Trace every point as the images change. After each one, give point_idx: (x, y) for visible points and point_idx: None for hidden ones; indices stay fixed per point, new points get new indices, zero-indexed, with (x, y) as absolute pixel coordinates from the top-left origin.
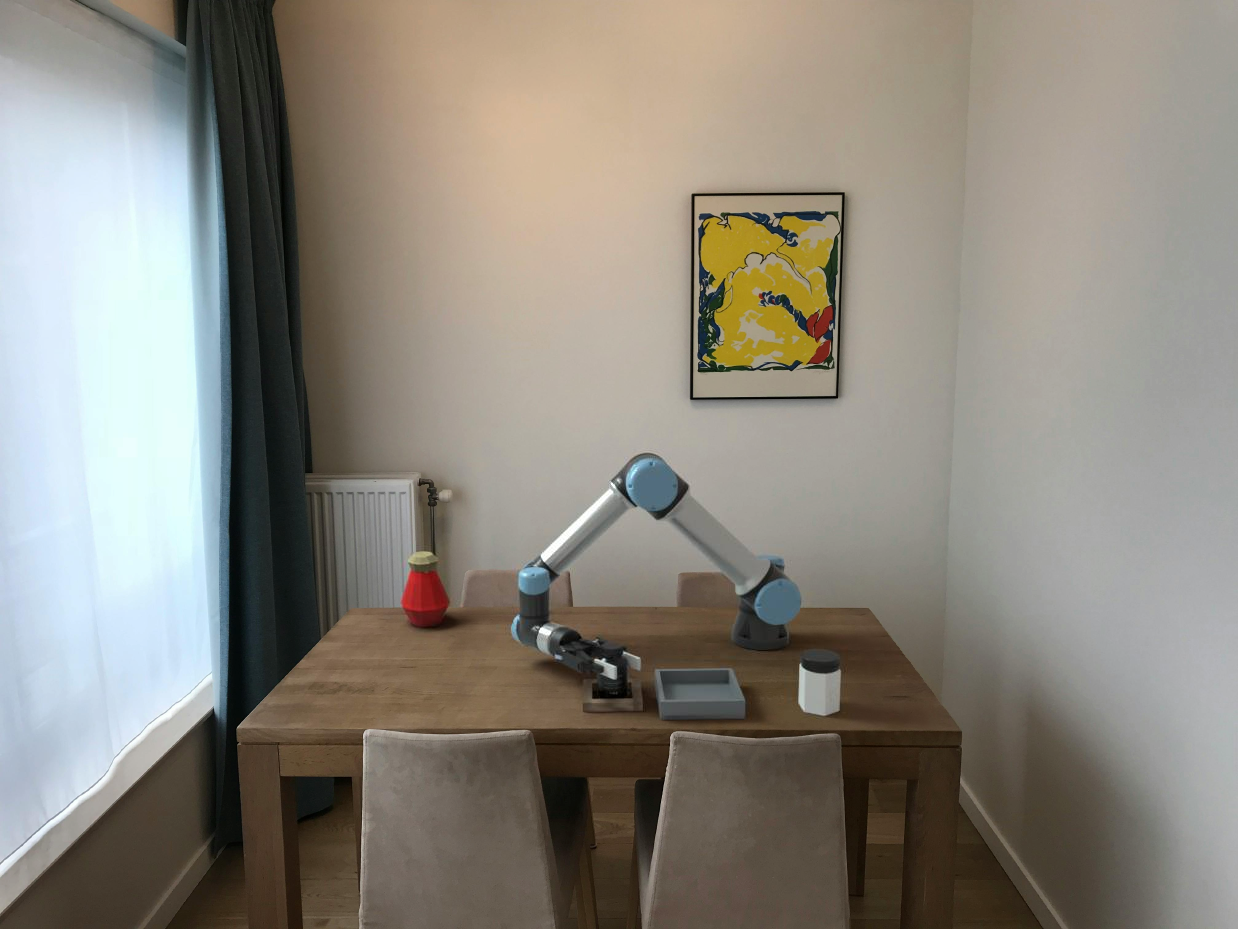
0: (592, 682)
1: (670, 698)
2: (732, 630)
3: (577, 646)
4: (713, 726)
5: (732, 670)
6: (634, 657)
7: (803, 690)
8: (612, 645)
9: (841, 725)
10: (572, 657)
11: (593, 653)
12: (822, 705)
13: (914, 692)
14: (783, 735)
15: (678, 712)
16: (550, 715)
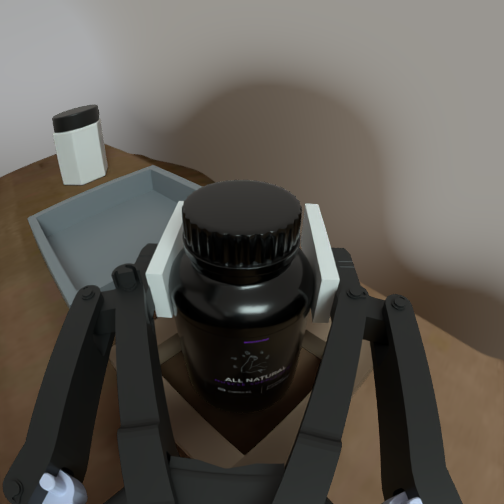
0: (243, 455)
1: None
2: None
3: (303, 483)
4: None
5: (37, 213)
6: None
7: (97, 151)
8: (239, 201)
9: (122, 157)
10: (422, 371)
11: (174, 455)
12: (105, 155)
13: (30, 165)
14: (177, 165)
15: None
16: (456, 396)
